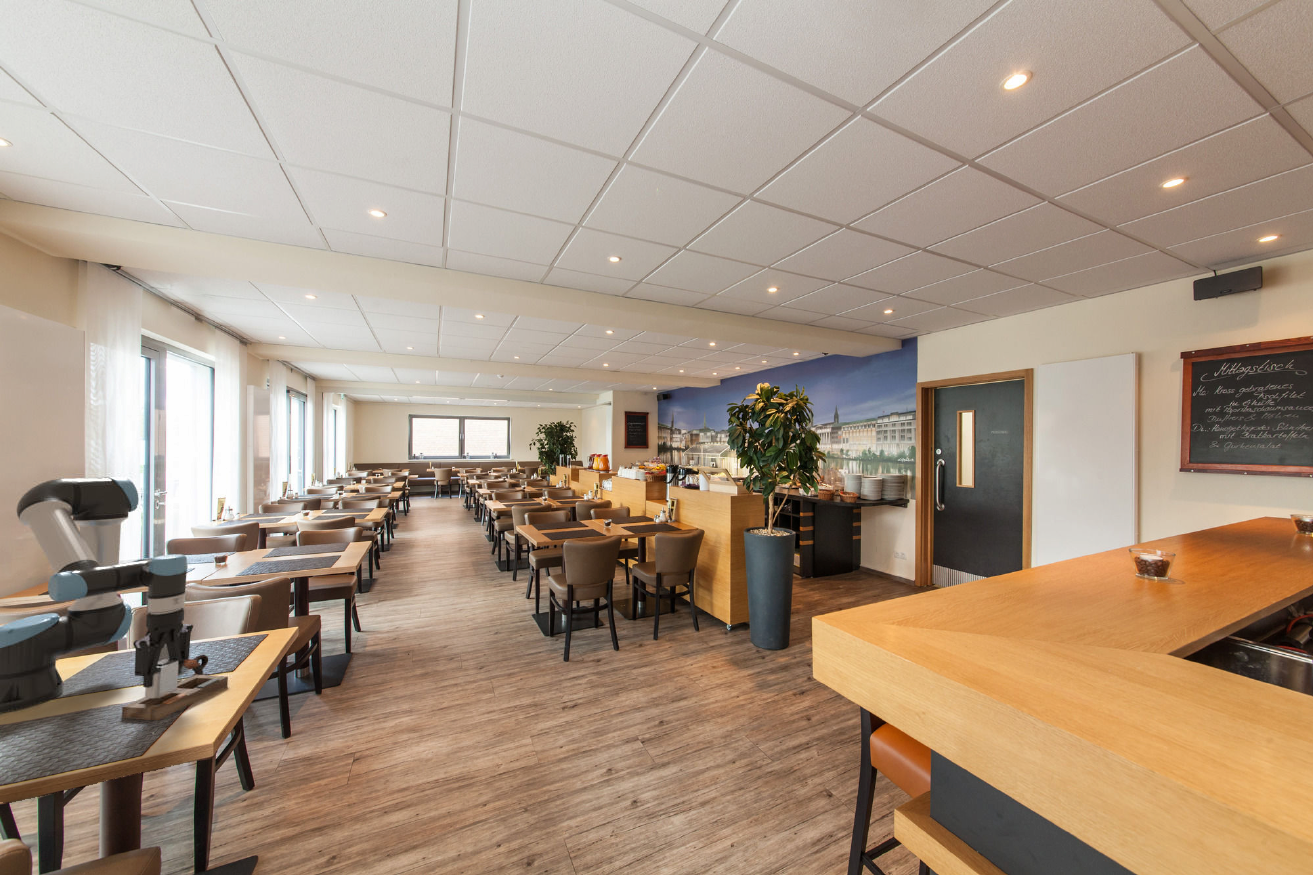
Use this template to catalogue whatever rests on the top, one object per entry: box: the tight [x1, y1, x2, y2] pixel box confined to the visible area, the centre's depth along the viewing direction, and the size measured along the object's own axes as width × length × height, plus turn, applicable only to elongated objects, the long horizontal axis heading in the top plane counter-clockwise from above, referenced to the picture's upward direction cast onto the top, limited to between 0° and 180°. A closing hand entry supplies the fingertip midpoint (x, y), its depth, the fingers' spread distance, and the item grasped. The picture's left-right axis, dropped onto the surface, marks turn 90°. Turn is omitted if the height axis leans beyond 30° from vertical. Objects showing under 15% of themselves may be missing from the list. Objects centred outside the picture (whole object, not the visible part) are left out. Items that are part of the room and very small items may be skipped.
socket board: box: [121, 674, 229, 721], centre depth 137 cm, size 11×19×3 cm, turn 175°
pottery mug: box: [180, 654, 209, 677], centre depth 151 cm, size 12×10×8 cm
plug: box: [155, 659, 179, 698], centre depth 133 cm, size 4×4×9 cm
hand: (161, 692), depth 133 cm, fingers closed on plug, 4 cm apart
